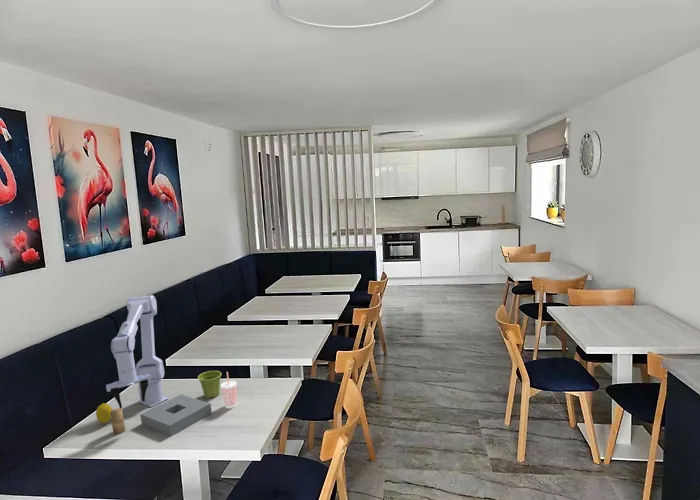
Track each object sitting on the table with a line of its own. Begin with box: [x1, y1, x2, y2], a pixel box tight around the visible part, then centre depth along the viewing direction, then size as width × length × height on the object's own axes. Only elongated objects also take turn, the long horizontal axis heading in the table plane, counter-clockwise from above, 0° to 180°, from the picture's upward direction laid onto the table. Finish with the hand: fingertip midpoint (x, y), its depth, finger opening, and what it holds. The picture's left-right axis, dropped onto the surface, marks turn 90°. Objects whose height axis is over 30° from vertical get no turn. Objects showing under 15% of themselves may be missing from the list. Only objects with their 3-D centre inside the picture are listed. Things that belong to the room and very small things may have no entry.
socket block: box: [140, 394, 213, 437], centre depth 183 cm, size 18×18×4 cm
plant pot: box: [197, 370, 222, 399], centre depth 201 cm, size 9×9×9 cm
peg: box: [110, 407, 126, 435], centre depth 177 cm, size 4×4×8 cm
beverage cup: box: [220, 371, 238, 409], centre depth 190 cm, size 6×6×14 cm
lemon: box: [95, 402, 113, 424], centre depth 184 cm, size 6×6×8 cm
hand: (132, 403), depth 177 cm, fingers open, 7 cm apart
